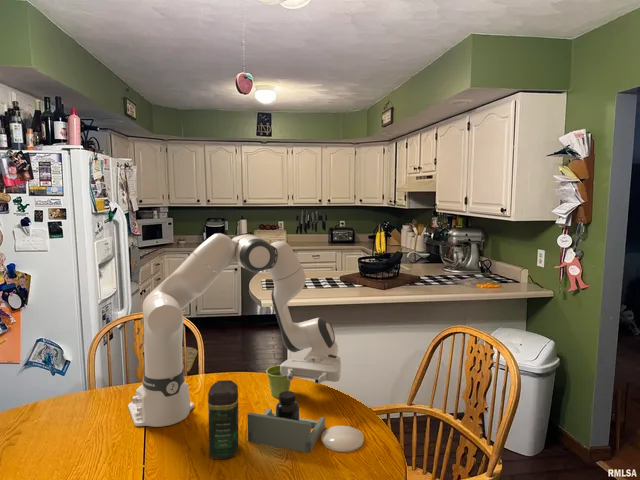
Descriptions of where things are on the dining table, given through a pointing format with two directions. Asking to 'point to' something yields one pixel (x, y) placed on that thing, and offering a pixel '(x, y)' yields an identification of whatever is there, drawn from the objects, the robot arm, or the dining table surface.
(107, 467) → the dining table surface
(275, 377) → the plant pot
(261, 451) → the dining table surface
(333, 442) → the white round glossy part
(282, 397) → the supplement bottle
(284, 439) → the cold frame
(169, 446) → the dining table surface
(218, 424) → the coffee jar
